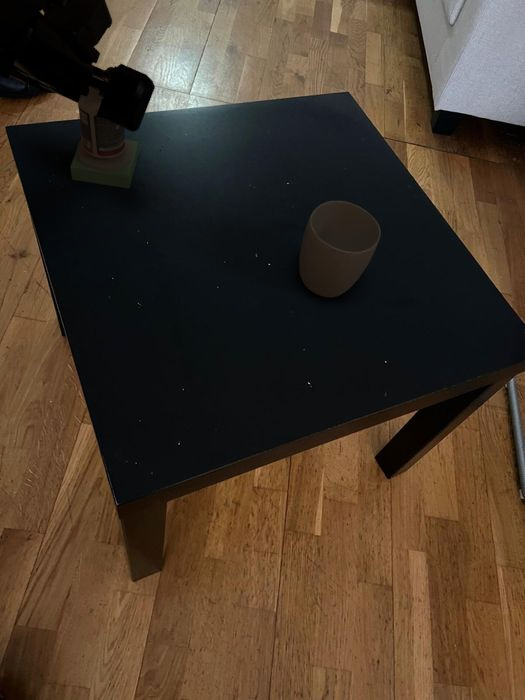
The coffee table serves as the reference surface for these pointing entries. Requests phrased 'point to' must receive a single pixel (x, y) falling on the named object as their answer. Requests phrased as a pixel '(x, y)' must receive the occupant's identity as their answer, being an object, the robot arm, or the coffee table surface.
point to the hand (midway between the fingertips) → (106, 99)
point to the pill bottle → (99, 128)
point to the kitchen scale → (106, 166)
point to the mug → (337, 247)
